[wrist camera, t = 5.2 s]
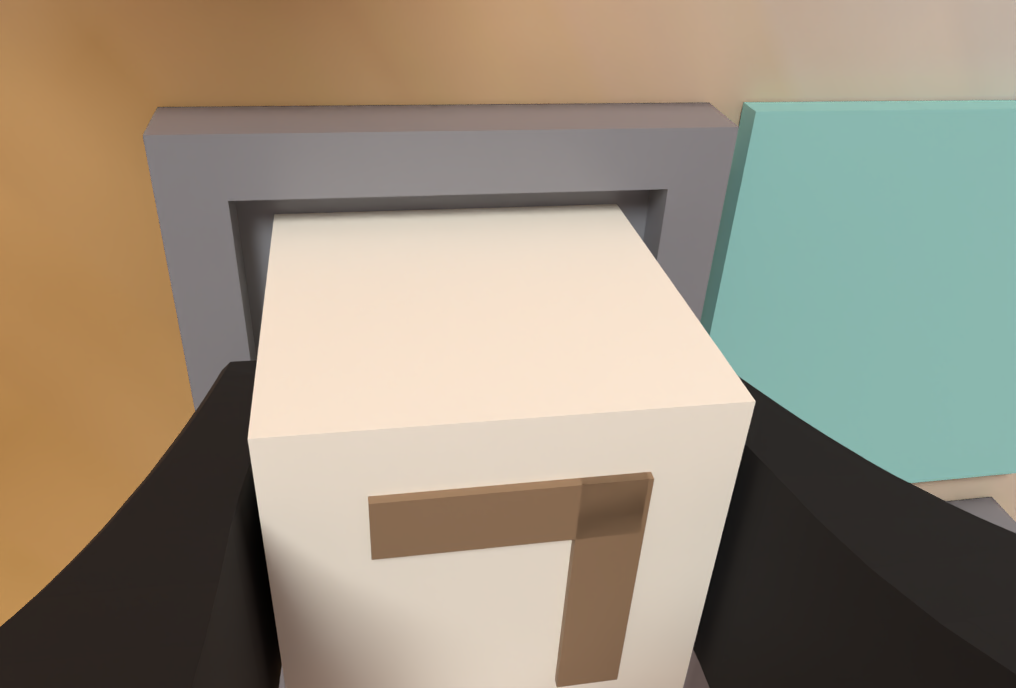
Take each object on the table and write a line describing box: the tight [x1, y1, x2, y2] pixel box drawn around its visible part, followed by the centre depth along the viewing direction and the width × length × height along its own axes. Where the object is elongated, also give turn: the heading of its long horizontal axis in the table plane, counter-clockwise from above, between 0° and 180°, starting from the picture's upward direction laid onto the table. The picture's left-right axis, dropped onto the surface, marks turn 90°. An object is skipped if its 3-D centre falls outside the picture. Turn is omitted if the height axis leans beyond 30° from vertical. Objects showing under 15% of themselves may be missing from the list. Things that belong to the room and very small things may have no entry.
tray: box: [143, 103, 739, 411], centre depth 12 cm, size 7×7×1 cm
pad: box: [700, 100, 1016, 483], centre depth 14 cm, size 7×7×1 cm
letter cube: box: [248, 204, 756, 688], centre depth 10 cm, size 4×4×5 cm
